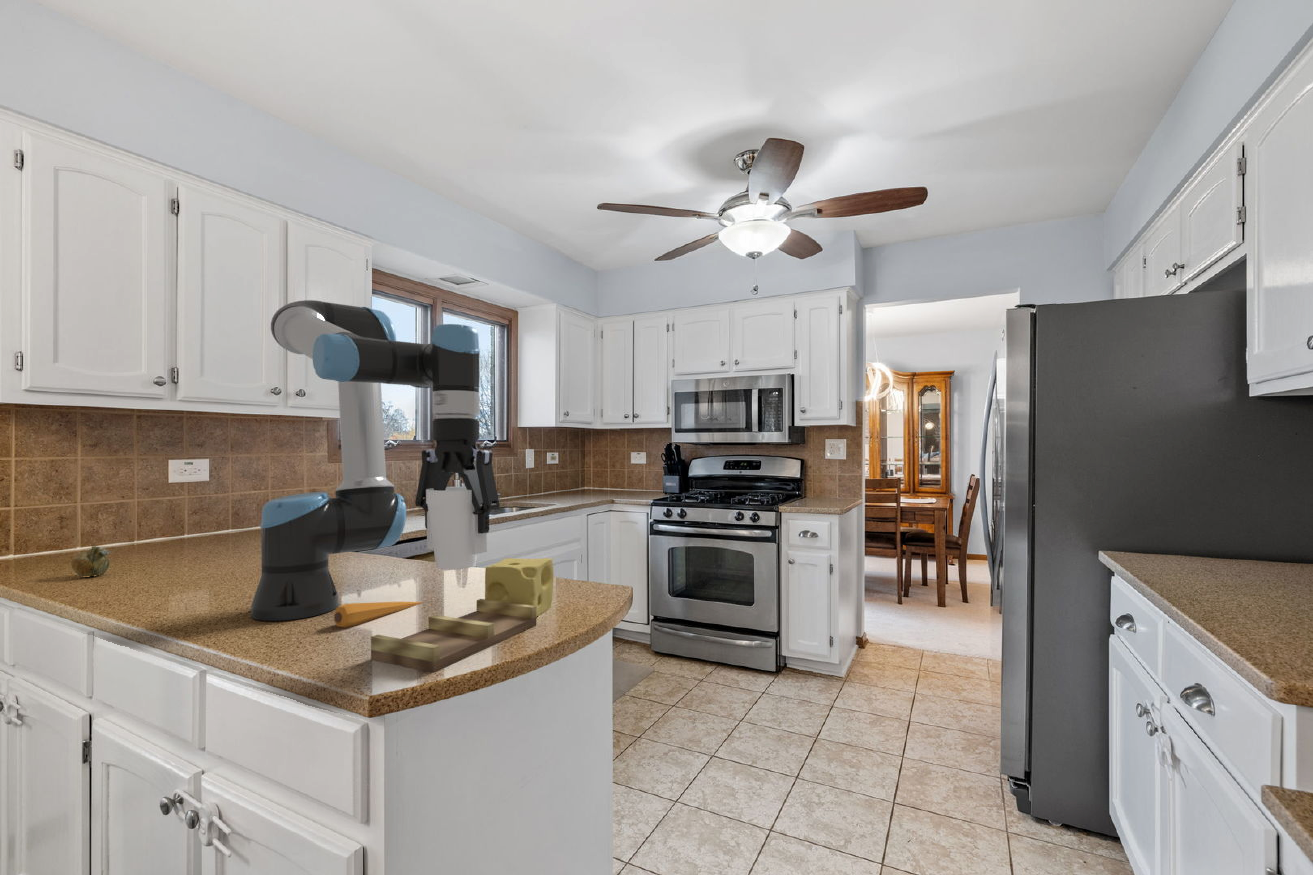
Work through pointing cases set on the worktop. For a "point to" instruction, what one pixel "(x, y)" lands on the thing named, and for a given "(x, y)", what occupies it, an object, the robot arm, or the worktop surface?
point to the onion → (91, 562)
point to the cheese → (521, 582)
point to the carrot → (366, 612)
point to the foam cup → (451, 527)
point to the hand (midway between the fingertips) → (456, 550)
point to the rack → (455, 636)
